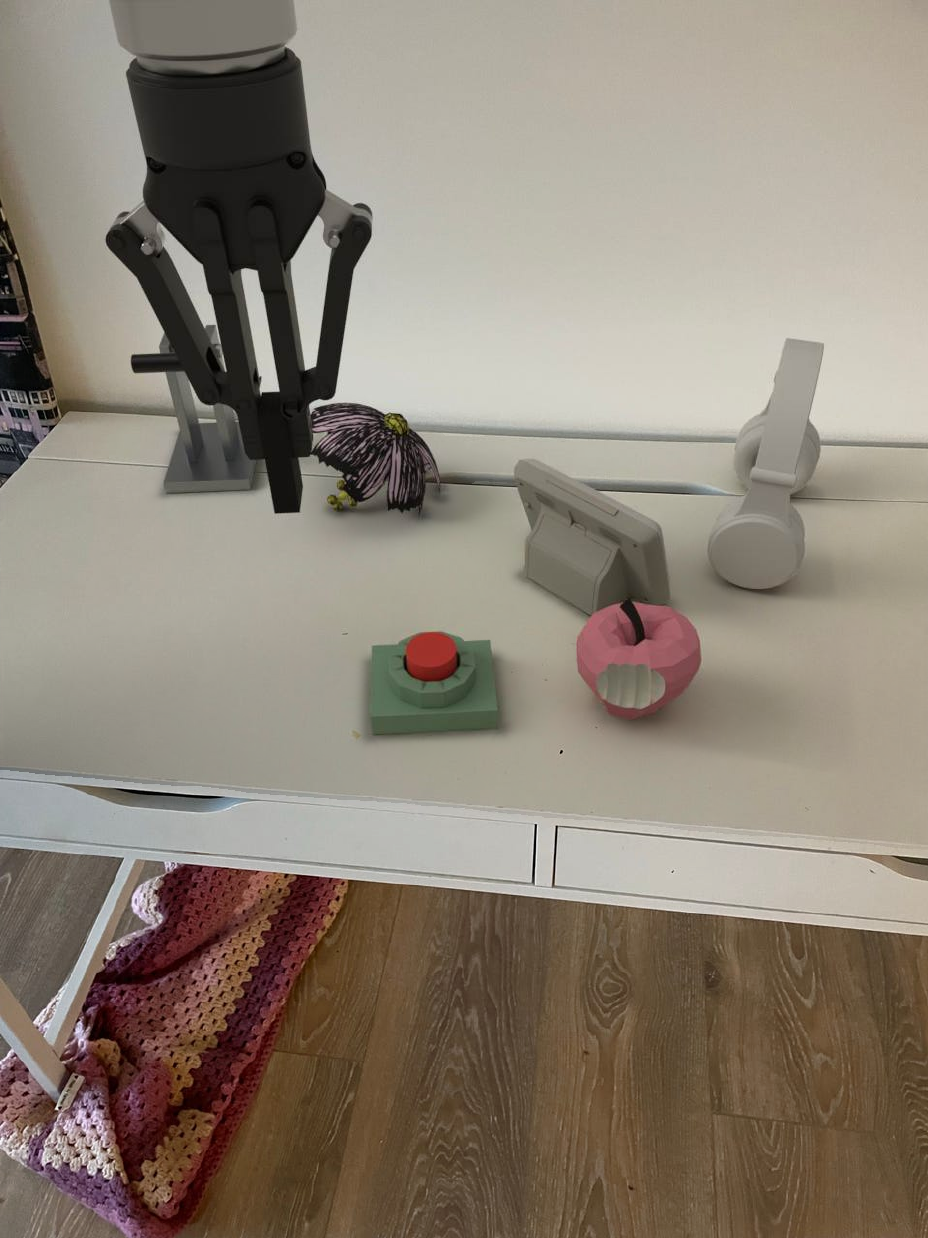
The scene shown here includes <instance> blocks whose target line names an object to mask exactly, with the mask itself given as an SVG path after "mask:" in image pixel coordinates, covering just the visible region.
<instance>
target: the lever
mask: <svg viewBox="0 0 928 1238" xmlns="http://www.w3.org/2000/svg"><path fill="white" fill-rule="evenodd" d="M130 367H131V370H132V372H133V373H134V374H157V373H159V374H160V373H165V372H184V370H183V368H182V366H181V364H180V362H179V360H178V358H177V356H176V354H175V352H171V353H160V352H158V353H157V352H156V353H133V354H131V355H130Z"/></svg>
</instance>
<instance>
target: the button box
mask: <svg viewBox="0 0 928 1238" xmlns="http://www.w3.org/2000/svg"><path fill="white" fill-rule="evenodd" d="M426 632H427V631H420V632H417V633H414V634H413V635H410V636H407V637H406V638H403V639H401V640H400V641H399V642H398V643H396V644H375V645H371V667H370V668H371V671H370V706H369V708H370V709H369V711H370V712H369V719H370V727H371V734H372V735H373V736H375V735H396V734H412V733H413V734H414V733H416V734H417V733H431V732H432V733H433V732H452V731H470V730H471V731H473V730H488V729H489V730H490V729H498V727H499V707H498V698H497V690H496V680H495V679H496V678H495V672H494V671H495V669H494V662H493V654H492V653H493V652H492V643H491V642H492V641H491V639H479V640H478V639H477V640H476V639H475V640H465V639H464V638H462V637H460V636H458V635H454V634H451V633H448V632H445V631H441V630H438V631H435V632H439V633H443V634H445V635H447V636H449V637H450V638H451V639H452V640H453V641H454V642H455V644H456V651H457V666H456V669H455V671H454V673H453V674H452V675H451V676H449V677H448V678H446V679H444V680H442V681H434V682H424V681H421V680H418V679H416V678H414V677H413V676H412V675H411V674H410V673H409V671H408V668H407V659H406V647H407V644H408V643H409V641H410V640H411V639H412V638H413V637H415V636H417V635H419V634H422V633H426Z"/></svg>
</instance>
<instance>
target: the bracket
mask: <svg viewBox="0 0 928 1238" xmlns="http://www.w3.org/2000/svg"><path fill="white" fill-rule="evenodd" d="M204 328H205V330H206V332H207V334H208V337H209V339H210V341H211V343H212V345H213V347H214V349H215V351H216V353H217V355H218V357H219V360H220V362H221V364H222V366H223V368H224V370H225V371H226V367H225V362H224V357H223V352H222V347H221V343H220V338H219V333H218V328H217V324H206V325H205V326H204ZM158 349H159V353H171V352H174V350H173V348H172V346H171V344H170V342H169V340H168V338H167V336H166V334H165V332H164V331H163V334H162V337H161V339H160V342H159V345H158ZM164 374H165V376H166V381H167V384H168V388H169V393H170V396H171V400H172V404H173V408H174V413H175V416H176V420H177V424H178V429H179V432H178V435H177V439H176V442H175V445H174V448H173V450H172V454H171V457H170V461H169V463H168V467H167V470H166V473H165V477H164V479H163V489H164V491H165V494H176V493H177V494H179V493H201V492H222V491H226V492H227V491H243V490H244V491H246V490H247V491H248V490H252V485H253V480H254V474H255V469H256V465H257V460H250V459H249V458H248V457H247V455H246V454H245V451H244V446H243V441H242V436H241V431H240V426H239V421H236V416H235V413H234V412H235V411H234V410H233V409H232V408H231V407H229V406H227V405H223V404H220V403H217V404H215V405H212V408H213V412H214V417H215V422H199V416H198V413H197V409H196V405H195V400H194V396H193V392H192V388H191V387H192V386H191V383H190V381H189V379H188V377H187V375H186V373H185V372H164Z"/></svg>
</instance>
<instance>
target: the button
mask: <svg viewBox="0 0 928 1238" xmlns="http://www.w3.org/2000/svg"><path fill="white" fill-rule="evenodd" d="M425 632H426V633H422V634H419V635H417V636H415V637H413V638H412V639H411V640H410V641H409V643H408V644H407V647H406V659H407V668H408V671H409V673H410V674H411V675H412V676H413V677H414V678H416V679H418V680H421V681H424V682H434V681H442V680H444V679H446V678H448V677H449V676H451V675H452V674H453V673H454V671H455V669H456V666H457V651H456V644H455V642H454V641H453V640H452V639H451V638H450V637H449V636H447V635H445V634H443V633H439V632H436V631H425Z"/></svg>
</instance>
